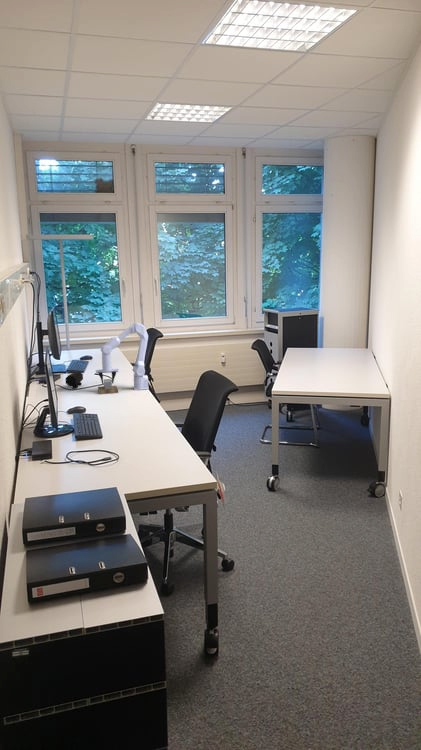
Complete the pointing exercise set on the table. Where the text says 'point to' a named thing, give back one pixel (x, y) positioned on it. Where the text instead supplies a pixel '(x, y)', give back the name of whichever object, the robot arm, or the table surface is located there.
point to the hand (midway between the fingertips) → (107, 383)
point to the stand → (107, 390)
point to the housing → (107, 384)
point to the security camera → (74, 379)
